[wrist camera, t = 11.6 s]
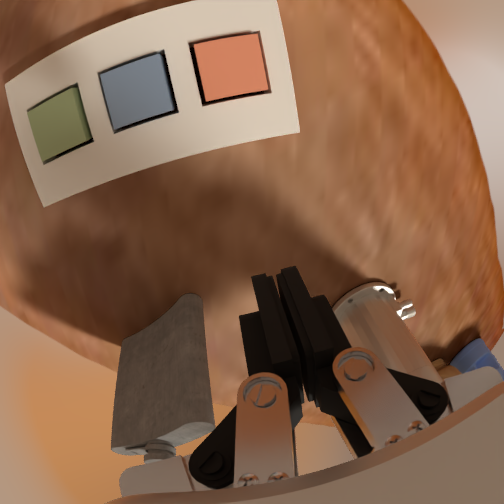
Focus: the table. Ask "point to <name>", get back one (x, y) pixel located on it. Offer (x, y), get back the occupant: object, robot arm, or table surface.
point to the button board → (184, 85)
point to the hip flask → (163, 385)
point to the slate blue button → (137, 91)
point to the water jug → (475, 358)
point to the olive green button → (59, 123)
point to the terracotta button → (231, 66)
